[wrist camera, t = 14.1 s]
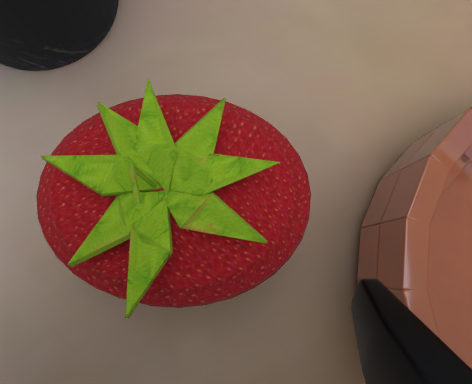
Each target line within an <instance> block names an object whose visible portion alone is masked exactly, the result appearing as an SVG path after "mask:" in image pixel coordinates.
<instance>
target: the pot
mask: <svg viewBox="0 0 472 384" xmlns="http://www.w3.org/2000/svg"><path fill="white" fill-rule="evenodd" d="M362 278H367V279H378V280H379V281H380V282H381V283H383V284H384V285H385V286H386V287H387V288H388V289H389V290H390V291H391V292H392V293H393V294H394V295H395V296H396V297H397V298H398V299H399V300H400V301H401V302H402V303H403V304H404V305H405V306H407V307H408V308H409V309H410V310H411V311H412V312H413V313H414V314H415V315H416V316H417V317H418V318H419V319H420V320H421V321H422V322H423V323H424V324H425V325H426V326H427V327H428V328H429V329H430V330H432V331H433V332H434V333H435V334H436V335H437V336H438V337H439V338H440V339H441V340H442V341H443V342H444V343H445V344H446V345H447V346H448V347H449V348H450V349H451V350H452V351H453V352H454V353H455V354H457V355H458V356H459V357H460V358H461V359H462V360H463V361H464V362H465V363H466V364H467V365H468V366H469V367H470V368H471V369H472V107H471V108H469V109H468V110H466V111H464V112H463V113H461V114H459V115H458V116H456V117H454V118H453V119H451V120H449V121H448V122H446V123H444V124H443V125H441V126H440V127H438V128H436V129H435V130H433V131H431V132H430V133H428V134H426V135H425V136H423V137H421V138H420V139H418V140H416V141H415V142H414V143H412V144H411V145H410V146H409V148H408V149H407V150H406V151H405V152H404V153H403V154H402V155H401V157H400V158H399V159H398V160H397V161H396V162H395V163H394V165H393V166H392V167H391V168H390V169H389V170H388V171H387V173H386V174H385V175H384V176H383V177H382V178H381V180H380V181H379V184H378V186H377V189H376V191H375V194H374V196H373V199H372V201H371V203H370V206H369V208H368V211H367V213H366V216H365V218H364V221H363V223H362V226H361V233H360V248H359V263H358V277H357V281H358V282H359V280H360V279H362ZM357 284H358V283H357Z"/></svg>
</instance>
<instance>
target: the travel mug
mask: <svg viewBox="0 0 472 384" xmlns="http://www.w3.org/2000/svg"><path fill="white" fill-rule="evenodd" d="M117 6H118V0H0V63H1V64H4V65H6V66H10V67H14V68H17V69H24V70H46V69H52V68H57V67H61V66H64V65H67V64H69V63H72V62H74V61H76V60H78V59H80V58H81V57H83V56H84V55H86V54H87V53H89V52H90V51H91V50H92V49H94V48H95V47H96V46H97V45H98V44H99V43H100V42H101V41H102V39H103V38H104V37H105V35H106V34H107V32H108V31H109V29H110V27H111V25H112V23H113V21H114V18H115V15H116V11H117Z"/></svg>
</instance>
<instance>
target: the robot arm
mask: <svg viewBox="0 0 472 384" xmlns="http://www.w3.org/2000/svg"><path fill="white" fill-rule="evenodd" d="M352 314H353V320H354V326H355V332H356V337H357V343H358V349H359V354H360V360H361V365H362V370H363V375H364V378H365V382H366V384H472V369H471V368H470V367H469V366H468V365H467V364H466V363H465V362H464V361H463V360H462V359H461V358H460V357H459V356H458V355H457V354H455V353H454V352H453V351H452V350H451V349H450V348H449V347H448V346H447V345H446V344H445V343H444V342H443V341H442V340H441V339H440V338H439V337H438V336H437V335H436V334H435V333H434V332H433V331H432V330H430V329H429V328H428V327H427V326H426V325H425V324H424V323H423V322H422V321H421V320H420V319H419V318H418V317H417V316H416V315H415V314H414V313H413V312H412V311H411V310H410V309H409V308H408V307H407V306H405V305H404V304H403V303H402V302H401V301H400V300H399V299H398V298H397V297H396V296H395V295H394V294H393V293H392V292H391V291H390V290H389V289H388V288H387V287H386V286H385V285H384V284H383V283H381V282H380V281H379V280H378V279H367V278H362V279H360V280H359V282H358V284H357V287H356V290H355V293H354V297H353V300H352Z"/></svg>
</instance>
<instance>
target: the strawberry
mask: <svg viewBox="0 0 472 384" xmlns="http://www.w3.org/2000/svg"><path fill="white" fill-rule="evenodd" d="M225 101H226V98H224V99H222V100H216V99H212V98H208V97H203V96H191V95H179V94H175V95H160V96H155V94H154V91H153V89H152V86H151V84H150V81H149V79H148V80H147V85H146V90H145V95H144V98H140V99H136V100H131V101H126V102H124V103H121V104H118V105H116V106H113V107H111V108H108V107H106V106H104V105H103V104H101V103H100V102H98V106H97V107H98V109H99V113H98V114H96V115H94V116H92V117H91V118H89V119H87V120H86V121H84V122H82V123H81V124H80V125H79V126H77V127H76V128H75V129H74V130H73V131H72V132H70V133H69V134H68V135H67V136H66V137H64V139H63V140H62V141H61V142H60V144H59V145H58V146H57V147H56V149H55V150H54V151H53V153H52V154H51V155H50V156H41V157H42V159H43V160H45V161H47V163H46V165H45V167H44V170H43V172H42V174H41V177H40V182H39V187H38V192H37V210H38V219H39V222H40V225H41V228H42V231H43V234H44V237H45V239H46V241H47V242H48V244H49V245H50V247H51V248H52V250H53V252H54V253H55V255H56V256H57V258H58V259H59V260H60V261H61V262H62V263H64V264H65V265H66V266H67V267H68V268H69V269H70V270H71V271H72V272H73V273H74V274H75V275H76V276H78V277H80V278H81V279H83V280H84V281H86V282H87V283H89V284H90V285H92V286H93V287H95V288H97V289H99V290H102V291H104V292H107V293H109V294H112V295H114V296H116V297H119V298H122V299H126V316H125V318H129V317H130V315H131V314H132V312H133V311H134V309H135V308H136V306H137V305H138V303H142V304H146V305H150V306H161V307H177V308H180V307H190V306H200V305H207V304H211V303H215V302H219V301H222V300H226V299H230V298H233V297H235V296H237V295H239V294H242V293H244V292H246V291H248V290H250V289H253V288H255V287H256V286H258V285H259V284H260V283H262V282H263V281H265V280H266V279H268V278H269V277H271V276H272V275H274V274H275V273H276V272H277V271H278V270H279V269H280V268H281V267H282V266H283V265H284V264H285V263H286V262H287V261H288V260H289V259H290V257H291V256H292V254H293V253H294V251H295V249H296V248H297V246H298V245H299V243H300V242H301V240H302V238H303V235H304V232H305V229H306V226H307V223H308V220H309V210H310V197H311V193H310V187H309V181H308V175H307V172H306V170H305V168H304V166H303V163H302V161H301V159H300V156H299V155H298V153H297V152H296V151H295V149H294V148H293V147H292V145H291V144H290V142H289V141H288V140H287V138H286V137H284V136H283V135H282V134H281V133H280V132H279V131H278V130H277V129H276V128H274V127H273V126H272V125H271V124H270V123H268V122H267V121H265V120H264V119H262V118H260V117H259V116H257V115H255V114H254V113H252V112H250V111H248V110H246V109H243V108H241V107H238V106H236V105H233V104H231V103H228V102H225Z"/></svg>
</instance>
